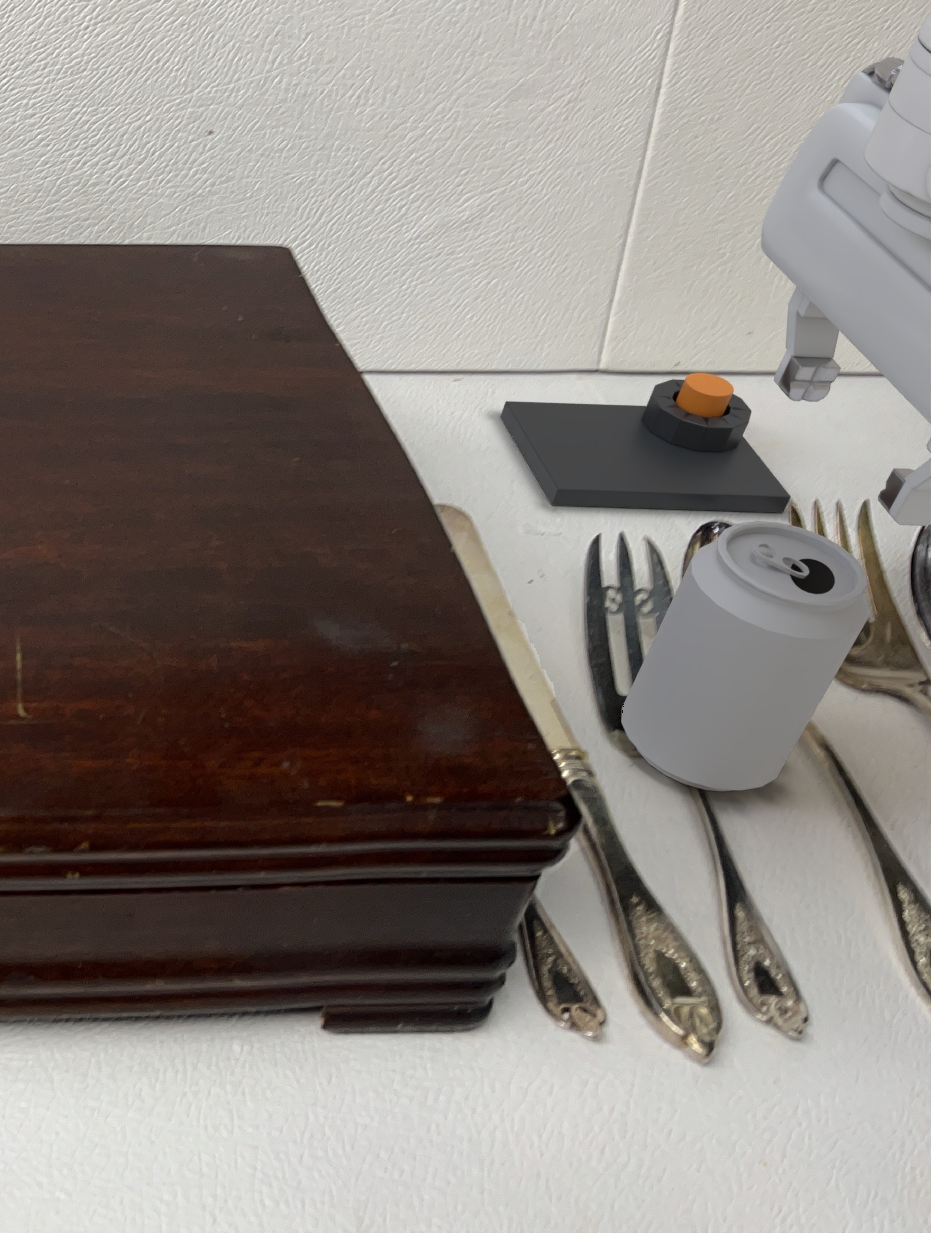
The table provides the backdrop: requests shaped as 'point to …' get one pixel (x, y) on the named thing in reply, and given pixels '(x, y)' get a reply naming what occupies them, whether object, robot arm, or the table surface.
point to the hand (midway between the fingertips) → (847, 451)
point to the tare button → (705, 395)
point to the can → (745, 655)
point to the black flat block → (644, 455)
